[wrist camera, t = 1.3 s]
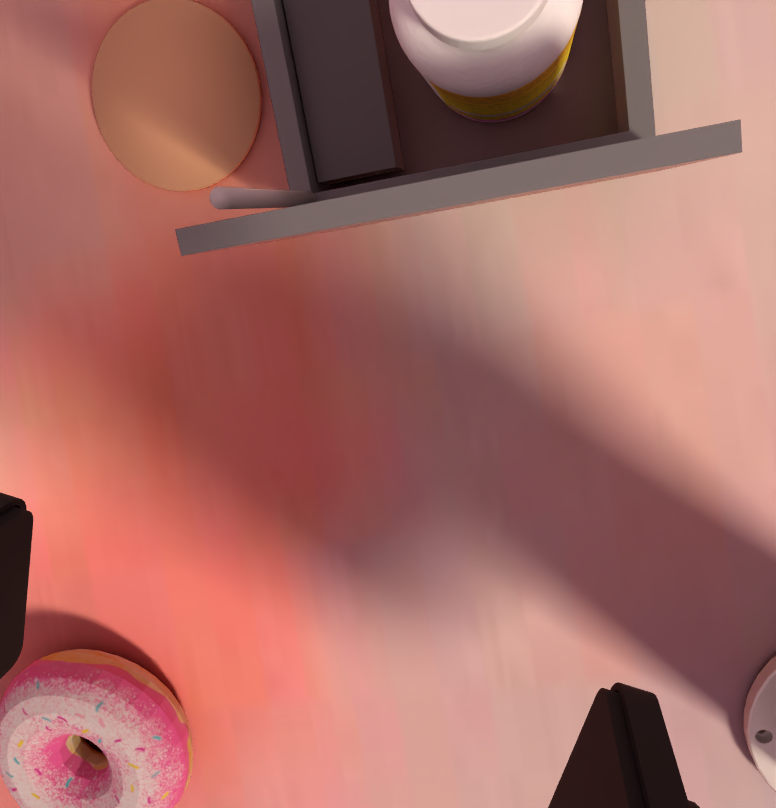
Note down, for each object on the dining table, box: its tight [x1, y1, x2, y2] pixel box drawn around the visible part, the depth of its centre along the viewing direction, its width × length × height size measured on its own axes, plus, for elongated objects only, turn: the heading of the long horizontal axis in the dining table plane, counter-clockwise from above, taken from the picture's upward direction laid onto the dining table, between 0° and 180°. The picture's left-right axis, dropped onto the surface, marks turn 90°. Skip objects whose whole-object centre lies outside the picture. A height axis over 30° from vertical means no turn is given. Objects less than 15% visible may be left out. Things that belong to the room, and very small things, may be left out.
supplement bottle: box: [389, 0, 583, 123], centre depth 26 cm, size 7×7×13 cm
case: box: [175, 0, 742, 256], centre depth 26 cm, size 16×13×16 cm
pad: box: [92, 0, 262, 191], centre depth 36 cm, size 9×9×1 cm
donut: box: [0, 649, 193, 808], centre depth 46 cm, size 14×13×5 cm
